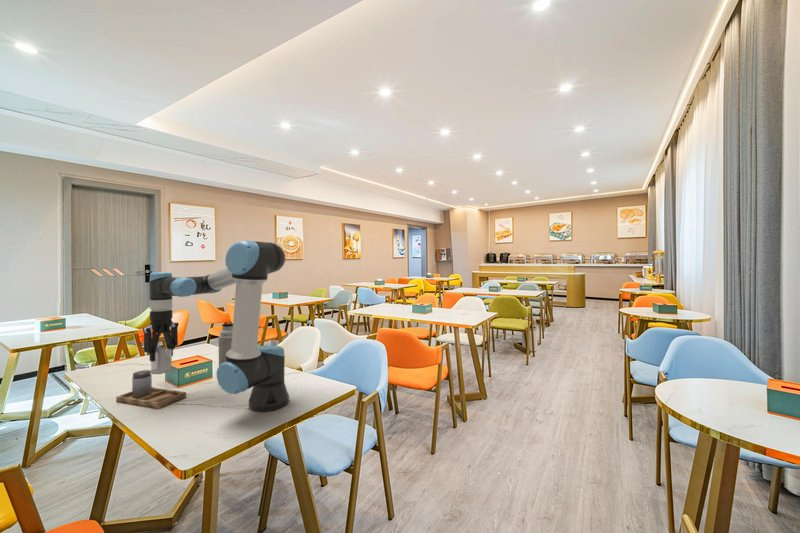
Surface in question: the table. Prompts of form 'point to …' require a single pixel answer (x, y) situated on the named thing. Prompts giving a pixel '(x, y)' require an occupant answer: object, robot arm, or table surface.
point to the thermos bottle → (225, 341)
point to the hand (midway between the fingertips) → (161, 366)
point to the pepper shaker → (141, 384)
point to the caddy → (153, 398)
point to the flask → (162, 362)
